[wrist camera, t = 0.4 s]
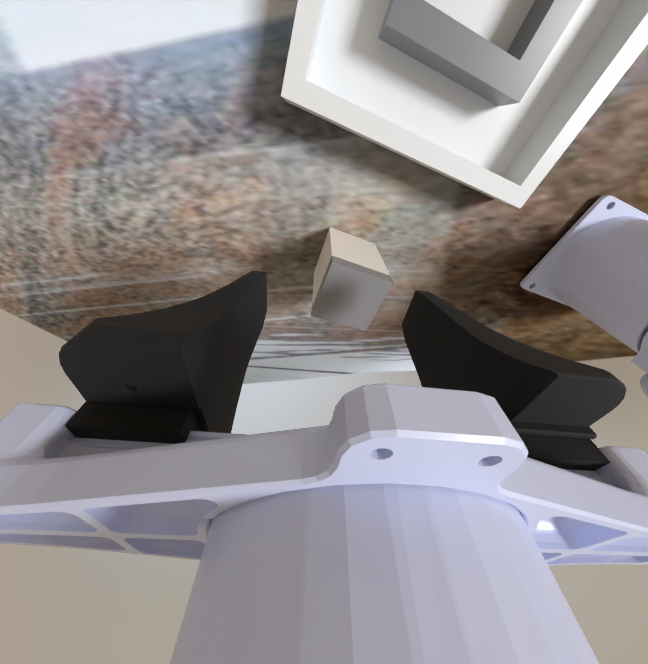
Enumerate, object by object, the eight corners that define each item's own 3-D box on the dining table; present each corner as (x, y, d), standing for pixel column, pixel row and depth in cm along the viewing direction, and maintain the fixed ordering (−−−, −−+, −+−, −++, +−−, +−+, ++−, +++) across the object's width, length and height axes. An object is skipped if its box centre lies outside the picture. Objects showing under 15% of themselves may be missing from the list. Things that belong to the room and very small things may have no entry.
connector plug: (374, 243, 21) (393, 282, 15) (355, 284, 23) (365, 331, 17) (329, 227, 20) (332, 261, 14) (314, 271, 22) (311, 315, 17)
